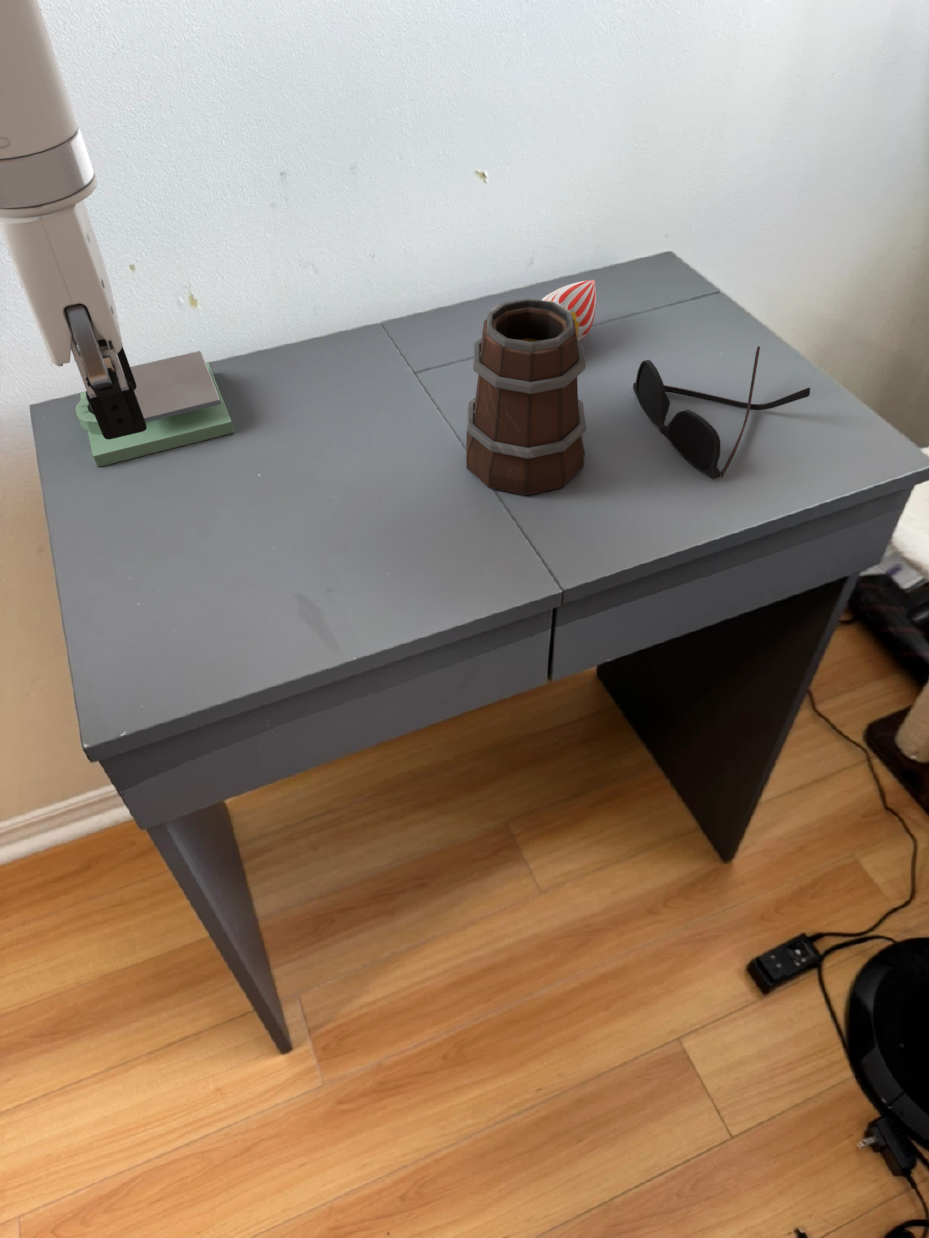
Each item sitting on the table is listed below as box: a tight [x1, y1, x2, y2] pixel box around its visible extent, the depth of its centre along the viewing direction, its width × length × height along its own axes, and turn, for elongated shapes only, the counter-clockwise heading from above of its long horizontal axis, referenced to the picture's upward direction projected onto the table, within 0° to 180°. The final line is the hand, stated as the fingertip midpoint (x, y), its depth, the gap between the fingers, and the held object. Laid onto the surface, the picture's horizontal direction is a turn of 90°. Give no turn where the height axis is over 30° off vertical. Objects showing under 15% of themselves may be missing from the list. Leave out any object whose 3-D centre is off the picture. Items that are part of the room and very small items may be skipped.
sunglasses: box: [632, 345, 811, 480], centre depth 89 cm, size 17×14×5 cm
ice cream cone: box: [541, 279, 597, 342], centre depth 98 cm, size 6×6×20 cm
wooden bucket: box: [465, 297, 587, 496], centre depth 83 cm, size 16×12×15 cm
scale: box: [75, 362, 235, 468], centre depth 92 cm, size 14×12×3 cm
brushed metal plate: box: [130, 350, 221, 422], centre depth 91 cm, size 8×10×1 cm
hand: (120, 410), depth 68 cm, fingers closed on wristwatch, 5 cm apart
